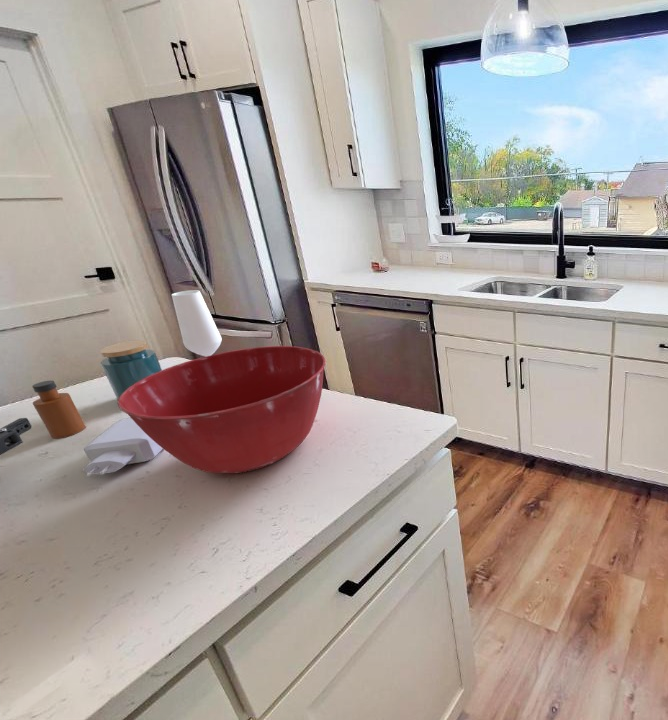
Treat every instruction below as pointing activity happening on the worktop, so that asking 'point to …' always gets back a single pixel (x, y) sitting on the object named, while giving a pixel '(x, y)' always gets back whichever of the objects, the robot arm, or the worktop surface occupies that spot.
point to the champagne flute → (196, 323)
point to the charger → (119, 448)
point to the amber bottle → (57, 411)
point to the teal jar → (128, 364)
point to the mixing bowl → (230, 406)
